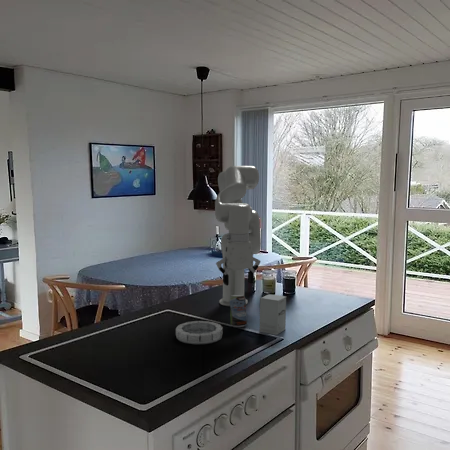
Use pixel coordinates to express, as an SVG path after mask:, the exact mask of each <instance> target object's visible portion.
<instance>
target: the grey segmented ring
mask: <svg viewBox="0 0 450 450" xmlns="http://www.w3.org/2000/svg"><path fill="white" fill-rule="evenodd" d="M223 331H224V327H223V326H222V325H221V324H220V323H217V322H213V321H208V320H207V321H205V320H194V321H186V322H183V323H181V324H178V325H177V326H176V328H175V336H176V339H177V340H178V342H180V343H184V344H189V345H208V344H209V345H210V344H214V343H216V342H219V341H220V340H222V338H223V333H224V332H223Z"/></svg>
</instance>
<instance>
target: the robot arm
mask: <svg viewBox="0 0 450 450" xmlns="http://www.w3.org/2000/svg"><path fill="white" fill-rule="evenodd" d="M259 181H260V172H259V170H258V168H257V166H254V165H232V166H229V167H228V168H227V169H226V170H224V171H220V173H218V177H217V185H218V189H219V193H218V194H217V196H216V198H215V202H214V207H215V208H214V216H215V220H216V221H217V222H219V223H221V224H224V228H225V229H226V230H227V231H228V232H227V233H224V234H223V235H222V236H221V238H220V239H221V240H220V245H221V253H222V254H221V255H222V259H220V260H218V261H216V263H215V265H216V267H217V269H218V271H220V273H221V274H222V298H221V299H219V301H218V302H219V304H220V305H222V306H225V307H230V298H231V295H244V296H245V270H248V272H247V282H248V283H249V284H253V283H254V280H255V279H254V278H255V273H256V271H257V270H258V268H259V266H260V263H261V260H260V259H257V258H256V257H254V255H257V254H259V253H260V251H261V249H262V241H261V239H262V238H261V224H260V223H261V221H260V216H259V213H258V212H257V211H256V210H254V209H253V208H252V207H251V205H250V204H249V203H246V202H245V203H243V198H244V197H245V196H246V194H247V190H254V189H256V187H257V186H258V184H259ZM246 305H248V299H246Z"/></svg>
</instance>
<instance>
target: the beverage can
mask: <svg viewBox="0 0 450 450" xmlns="http://www.w3.org/2000/svg"><path fill="white" fill-rule="evenodd" d="M246 300H247V299H246V297H245V294H244V295H231V298H230V306H229V314H230V325H231V326H232V327H233V328H241V327H242V328H243V327H245V326H246V325H248V324H247V323H248V321H247V304H246Z"/></svg>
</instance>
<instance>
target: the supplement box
mask: <svg viewBox="0 0 450 450" xmlns="http://www.w3.org/2000/svg"><path fill="white" fill-rule="evenodd" d="M286 312H287V296H284V295H279V294H266V295H265V296H263V297H262V296H261V297H260V298H259V332H261V333H265V334H270V335H274V336H278V335H280V334H281V333H282V332H284V331H286V318H287V317H286V315H287V313H286Z"/></svg>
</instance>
